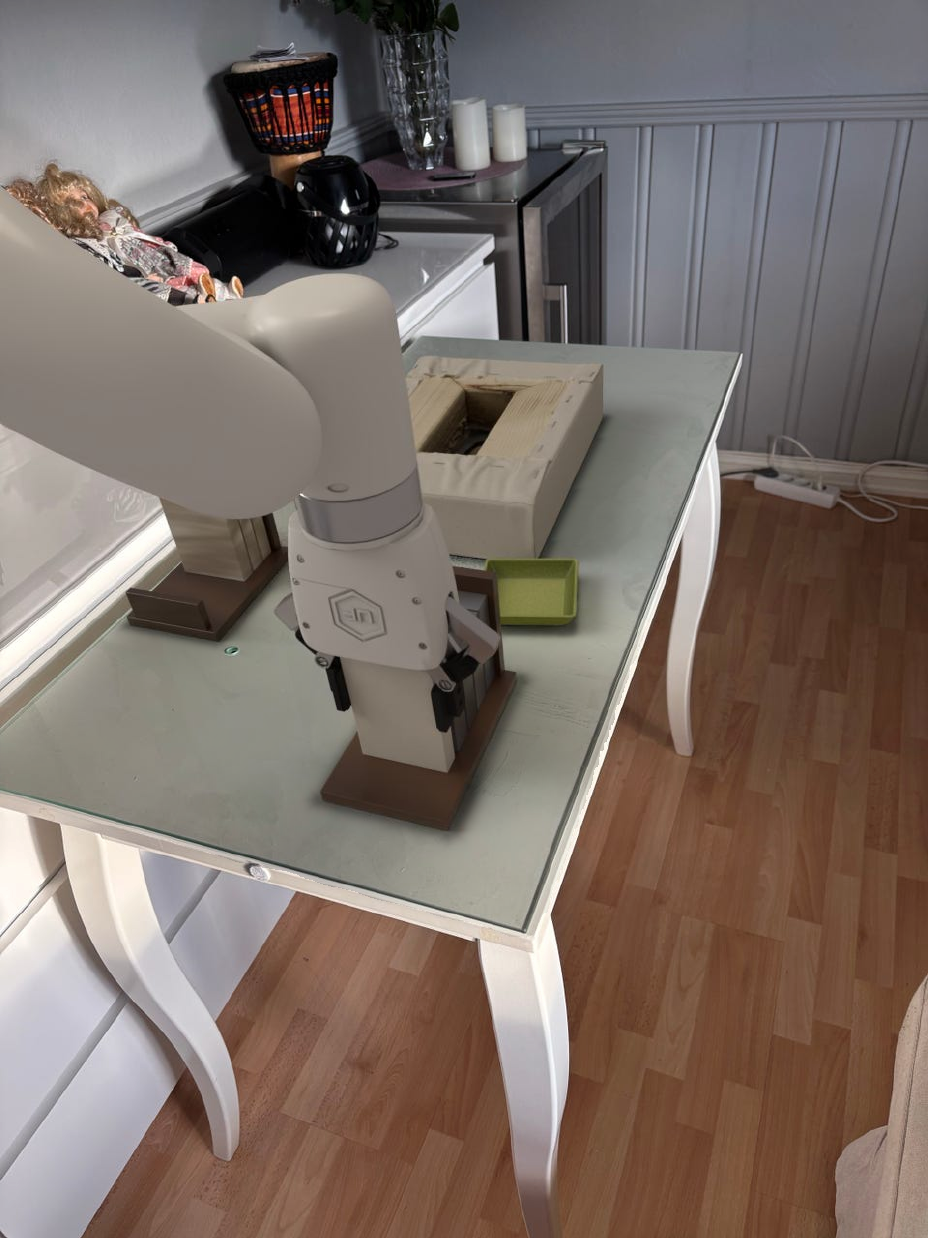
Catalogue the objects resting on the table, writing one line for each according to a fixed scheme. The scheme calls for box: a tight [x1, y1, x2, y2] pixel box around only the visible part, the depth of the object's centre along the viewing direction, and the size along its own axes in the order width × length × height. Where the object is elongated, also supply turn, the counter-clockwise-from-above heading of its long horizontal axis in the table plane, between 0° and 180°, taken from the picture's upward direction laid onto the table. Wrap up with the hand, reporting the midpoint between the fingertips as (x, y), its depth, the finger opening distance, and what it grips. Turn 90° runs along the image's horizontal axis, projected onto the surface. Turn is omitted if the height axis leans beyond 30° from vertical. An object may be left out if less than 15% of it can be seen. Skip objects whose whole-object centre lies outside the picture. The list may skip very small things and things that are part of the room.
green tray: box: [483, 558, 580, 626], centre depth 82 cm, size 9×9×2 cm
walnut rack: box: [319, 565, 518, 832], centre depth 68 cm, size 16×10×11 cm, turn 160°
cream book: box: [340, 657, 455, 773], centre depth 65 cm, size 2×7×10 cm, turn 70°
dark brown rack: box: [125, 497, 289, 642], centre depth 86 cm, size 14×10×11 cm
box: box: [405, 355, 604, 560], centre depth 100 cm, size 23×8×32 cm
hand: (399, 706), depth 65 cm, fingers closed on cream book, walnut rack, 7 cm apart
